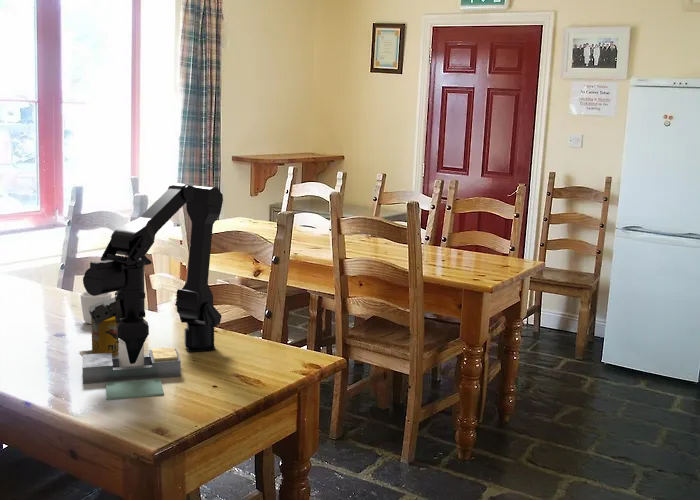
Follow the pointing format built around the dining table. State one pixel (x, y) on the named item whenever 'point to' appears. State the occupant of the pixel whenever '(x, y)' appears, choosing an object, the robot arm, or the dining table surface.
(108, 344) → the condiment
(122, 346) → the eye dropper bottle
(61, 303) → the dining table surface
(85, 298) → the cup
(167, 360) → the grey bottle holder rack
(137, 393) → the mat
